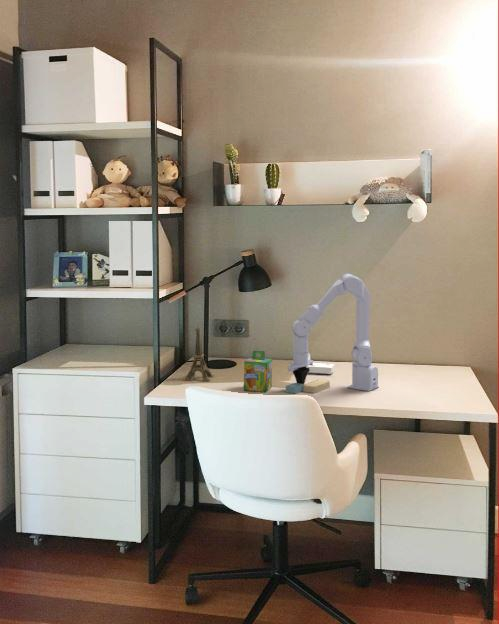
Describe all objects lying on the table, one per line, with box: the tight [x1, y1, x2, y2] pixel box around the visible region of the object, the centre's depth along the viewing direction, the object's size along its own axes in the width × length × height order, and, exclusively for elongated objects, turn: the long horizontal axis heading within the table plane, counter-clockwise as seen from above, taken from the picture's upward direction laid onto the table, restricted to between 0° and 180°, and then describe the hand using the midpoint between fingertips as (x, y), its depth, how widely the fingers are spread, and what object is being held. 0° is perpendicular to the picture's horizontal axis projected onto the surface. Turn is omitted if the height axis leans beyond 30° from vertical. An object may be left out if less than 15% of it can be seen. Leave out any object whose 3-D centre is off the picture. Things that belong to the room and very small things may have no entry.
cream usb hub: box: [302, 379, 331, 394], centre depth 294 cm, size 5×11×2 cm, turn 143°
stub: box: [285, 382, 305, 394], centre depth 291 cm, size 4×6×2 cm, turn 143°
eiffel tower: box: [182, 325, 215, 383], centre depth 312 cm, size 11×11×25 cm
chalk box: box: [243, 350, 273, 393], centre depth 294 cm, size 9×9×15 cm
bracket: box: [306, 352, 335, 375], centre depth 322 cm, size 13×7×8 cm, turn 74°
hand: (300, 386), depth 294 cm, fingers closed
